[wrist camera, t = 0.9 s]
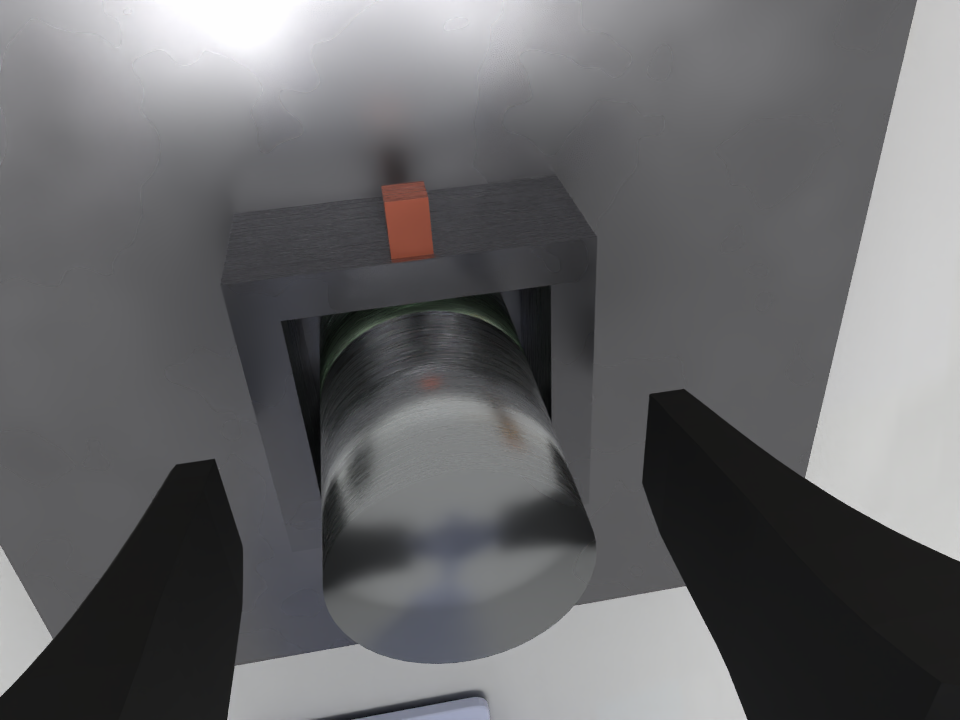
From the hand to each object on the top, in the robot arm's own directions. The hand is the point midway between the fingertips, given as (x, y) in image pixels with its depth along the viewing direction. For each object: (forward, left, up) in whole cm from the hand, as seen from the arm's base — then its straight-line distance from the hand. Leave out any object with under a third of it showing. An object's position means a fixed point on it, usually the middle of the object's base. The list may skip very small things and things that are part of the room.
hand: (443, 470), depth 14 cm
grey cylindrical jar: (0, 0, -4) cm, 4 cm away
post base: (0, 0, -6) cm, 6 cm away
